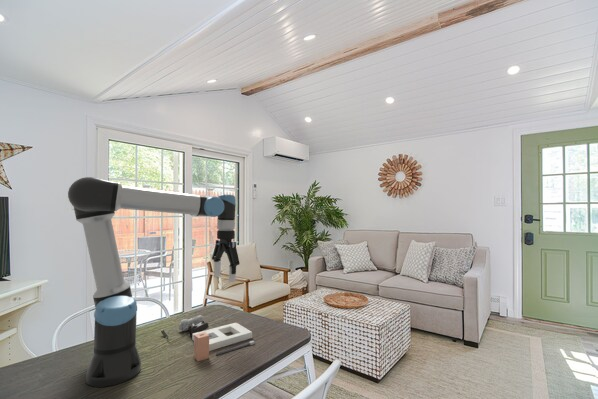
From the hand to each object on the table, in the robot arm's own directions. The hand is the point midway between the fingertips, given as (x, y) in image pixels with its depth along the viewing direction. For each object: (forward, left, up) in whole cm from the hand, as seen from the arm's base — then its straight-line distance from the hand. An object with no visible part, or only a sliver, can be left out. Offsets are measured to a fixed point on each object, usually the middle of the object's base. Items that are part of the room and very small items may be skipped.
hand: (224, 279), depth 130 cm
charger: (-16, -14, -24) cm, 32 cm away
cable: (-4, -16, -24) cm, 29 cm away
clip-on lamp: (-13, +11, -24) cm, 29 cm away
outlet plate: (-3, -4, -24) cm, 24 cm away
